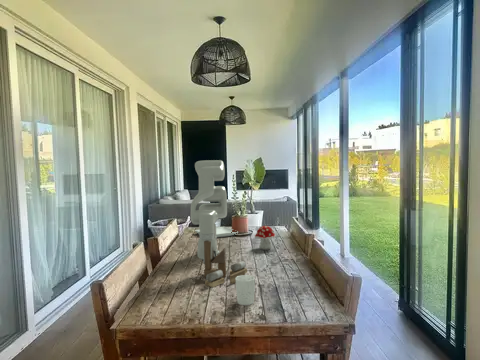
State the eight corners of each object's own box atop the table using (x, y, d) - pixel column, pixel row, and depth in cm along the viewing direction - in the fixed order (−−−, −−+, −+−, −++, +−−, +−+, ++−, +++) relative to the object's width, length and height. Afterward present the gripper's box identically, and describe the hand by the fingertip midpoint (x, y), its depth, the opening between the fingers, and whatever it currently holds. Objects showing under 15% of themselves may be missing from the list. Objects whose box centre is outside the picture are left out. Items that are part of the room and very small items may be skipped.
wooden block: (225, 277, 174) (224, 241, 173) (203, 277, 175) (202, 241, 174) (226, 275, 177) (225, 240, 176) (205, 275, 178) (204, 240, 177)
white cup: (235, 298, 146) (234, 275, 146) (254, 297, 147) (253, 274, 146) (236, 306, 139) (236, 281, 138) (256, 305, 139) (255, 280, 139)
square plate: (206, 240, 259) (206, 235, 259) (193, 234, 283) (193, 229, 283) (239, 236, 272) (238, 231, 271) (224, 230, 296) (224, 225, 296)
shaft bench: (205, 285, 164) (204, 273, 163) (239, 270, 184) (239, 260, 184) (220, 289, 158) (220, 277, 157) (254, 273, 178) (254, 263, 178)
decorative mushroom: (251, 250, 225) (251, 227, 225) (258, 245, 238) (258, 223, 237) (272, 252, 220) (272, 228, 219) (278, 246, 233) (278, 224, 232)
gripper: (191, 236, 181) (192, 271, 182) (212, 239, 172) (213, 276, 173) (201, 233, 187) (202, 267, 188) (222, 236, 178) (223, 272, 179)
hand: (208, 271), depth 180 cm, fingers closed
